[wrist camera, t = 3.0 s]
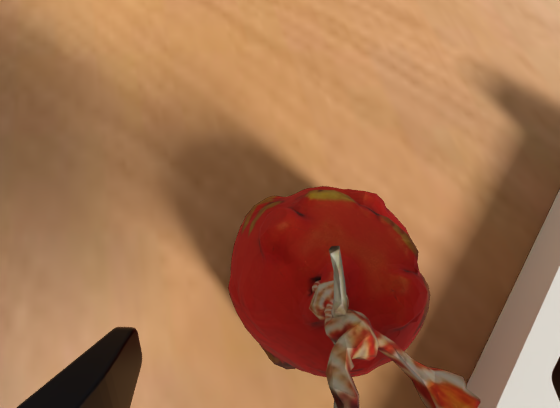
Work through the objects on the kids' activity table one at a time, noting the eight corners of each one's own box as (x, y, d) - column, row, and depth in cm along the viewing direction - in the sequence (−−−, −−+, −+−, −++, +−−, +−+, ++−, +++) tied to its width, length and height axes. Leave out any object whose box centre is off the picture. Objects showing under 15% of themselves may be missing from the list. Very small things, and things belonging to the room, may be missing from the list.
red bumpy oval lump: (414, 256, 20) (765, 47, 5) (363, 402, 18) (704, 697, 3) (271, 196, 21) (241, -115, 6) (208, 328, 19) (-41, 310, 4)
